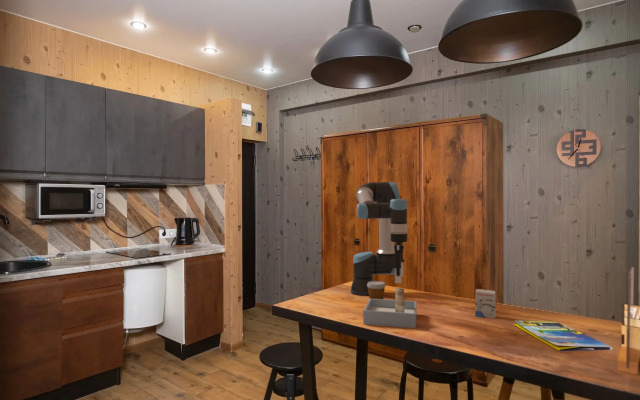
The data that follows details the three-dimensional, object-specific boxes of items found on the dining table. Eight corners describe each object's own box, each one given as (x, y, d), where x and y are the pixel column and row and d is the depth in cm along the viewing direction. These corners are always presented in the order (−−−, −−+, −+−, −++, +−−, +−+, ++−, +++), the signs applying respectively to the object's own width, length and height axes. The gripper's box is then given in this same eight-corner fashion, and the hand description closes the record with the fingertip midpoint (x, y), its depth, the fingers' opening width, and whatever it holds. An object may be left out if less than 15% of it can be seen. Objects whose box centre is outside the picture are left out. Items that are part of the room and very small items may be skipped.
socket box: (370, 310, 186) (369, 298, 186) (416, 313, 180) (416, 301, 180) (363, 324, 167) (363, 310, 167) (415, 328, 161) (415, 314, 161)
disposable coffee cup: (385, 303, 199) (384, 280, 198) (386, 309, 189) (386, 285, 189) (366, 303, 199) (366, 280, 199) (367, 308, 190) (367, 284, 190)
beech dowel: (395, 317, 175) (395, 287, 175) (404, 318, 174) (404, 288, 174) (395, 320, 171) (394, 289, 171) (404, 321, 170) (403, 290, 170)
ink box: (474, 316, 176) (474, 291, 176) (476, 313, 180) (475, 288, 180) (495, 319, 172) (495, 293, 172) (495, 315, 176) (495, 290, 176)
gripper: (392, 230, 185) (393, 273, 186) (387, 235, 161) (388, 285, 162) (408, 230, 183) (408, 273, 184) (406, 236, 159) (406, 286, 160)
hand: (399, 279), depth 173 cm, fingers open, 13 cm apart
